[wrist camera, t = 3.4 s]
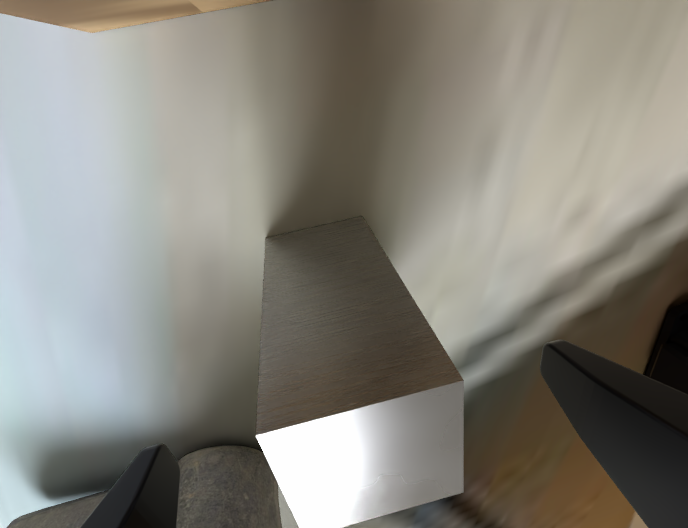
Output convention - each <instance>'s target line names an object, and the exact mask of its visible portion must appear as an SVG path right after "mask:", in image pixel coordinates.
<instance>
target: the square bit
mask: <svg viewBox="0 0 688 528" xmlns="http://www.w3.org/2000/svg"><path fill="white" fill-rule="evenodd" d="M463 388H464V380H463V379H462V377H461V376H460V374H459V372H458V371H457V369H456V367H455V366H454V364H453V363H452V361H451V359H450V358H449V356H448V354H447V353H446V351H445V350H444V348H443V346H442V345H441V343H440V341H439V340H438V338H437V337H436V335H435V333H434V332H433V330H432V328H431V327H430V325H429V324H428V322H427V320H426V319H425V317H424V315H423V314H422V312H421V311H420V309H419V307H418V306H417V304H416V302H415V301H414V299H413V298H412V296H411V294H410V293H409V291H408V289H407V288H406V286H405V285H404V283H403V281H402V280H401V278H400V276H399V275H398V273H397V272H396V270H395V268H394V267H393V265H392V264H391V262H390V260H389V259H388V257H387V255H386V254H385V252H384V251H383V249H382V247H381V246H380V244H379V242H378V241H377V239H376V238H375V236H374V234H373V233H372V231H371V229H370V228H369V226H368V225H367V223H366V221H365V220H364V218H363V216H360V217H355V218H351V219H347V220H342V221H338V222H334V223H329V224H325V225H320V226H316V227H312V228H307V229H303V230H298V231H294V232H290V233H285V234H281V235H276V236H272V237H268V238H266V239H265V259H264V279H263V299H262V320H261V340H260V360H259V380H258V400H257V420H256V437H257V439H258V442H259V444H260V446H261V448H262V450H263V452H264V454H265V456H266V458H267V461H268V463H269V465H270V467H271V469H272V471H273V473H274V475H275V477H276V479H277V482H278V484H279V486H280V488H281V490H282V492H283V494H284V496H285V498H286V501H287V503H288V505H289V507H290V509H291V511H292V513H293V515H294V517H295V519H296V522H297V524H298V526H299V528H342V527H345V526H349V525H352V524H356V523H359V522H362V521H366V520H369V519H373V518H376V517H380V516H383V515H387V514H390V513H394V512H397V511H401V510H404V509H407V508H411V507H414V506H418V505H421V504H425V503H428V502H432V501H435V500H439V499H442V498H446V497H449V496H452V495H456V494H459V493H463Z"/></svg>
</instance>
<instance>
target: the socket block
mask: <svg viewBox="0 0 688 528" xmlns="http://www.w3.org/2000/svg"><path fill="white" fill-rule="evenodd" d="M265 1H271V0H0V13H2V14H7V15H12V16H16V17H21V18H25V19H30V20H35V21H39V22H44V23H49V24H53V25H58V26H62V27H67V28H72V29H76V30H81V31H86V32H90V33H94V32H100V31H105V30H111V29H116V28H122V27H127V26H133V25H138V24H144V23H149V22H155V21H160V20H166V19H172V18H177V17H183V16H188V15H194V14H199V13H205V12H210V11H216V10H221V9H227V8H232V7H238V6H243V5H249V4H254V3H260V2H265Z"/></svg>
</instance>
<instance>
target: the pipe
mask: <svg viewBox="0 0 688 528" xmlns="http://www.w3.org/2000/svg"><path fill="white" fill-rule="evenodd" d="M178 464H179V467H180V485H179V499H178V512H177V525H176V528H282V524H281V517H280V509H279V500H278V482H277V479H276V477H275V475H274V473H273V471H272V469H271V467H270V465H269V463H268V461H267V458H266V456H265V454H264V453H262V452H261V451H259V450H257V449H254V448H250V447H245V446H216V447H210V448H204V449H200V450H197V451H194V452H192V453H190V454H187V455H185V456H184V457H183V458H181V459H180V460H179V461H178ZM108 492H109V490H106V491H103V492H100V493H96V494H93V495H89V496H86V497H82V498H79V499H75V500H72V501H68V502H65V503H61V504H58V505H55V506H51V507H48V508H44V509H41V510H38V511H35V512H32V513H29V514H26V515H23V516H20V517H19V518H17V519H15V520H14V521H12V522H11V523H10V524H9V526H8V527H7V528H80V527H81V526H82V524H83V523H84V522H85V521H86V519H87V518H88V517H89V515H90V514H91V513H92V512H93V510H94V509H95V508H96V507H97V505H98V504H99V503H100V502H101V500H102V499H103V498H104V497H105V495H106V494H107V493H108Z"/></svg>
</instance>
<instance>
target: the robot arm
mask: <svg viewBox="0 0 688 528" xmlns="http://www.w3.org/2000/svg"><path fill="white" fill-rule="evenodd" d="M540 371H541V374H542V376H543V378H544V380H545V382H546V383H547V385H548V386H549V388H550V390H551V391H552V393H553V394H554V396H555V398H556V399H557V401H558V403H559V404H560V406H561V407H562V409H563V411H564V412H565V414H566V416H567V417H568V419H569V420H570V422H571V424H572V425H573V427H574V428H575V430H576V431H577V433H578V435H579V436H580V438H581V439H582V440H583V442H584V443H585V444H586V446H587V447H588V449H589V450H590V451H591V453H592V454H593V455H594V457H595V458H596V459H597V460H598V462H599V463H600V464H601V466H602V467H603V468H604V470H605V471H606V472H607V474H608V475H609V476H610V478H611V479H612V480H613V482H614V483H615V484H616V486H617V487H618V488H619V490H620V491H621V492H622V494H623V495H624V496H625V498H626V499H627V500H628V502H629V503H630V504H631V506H632V507H633V508H634V509H635V511H636V512H637V513H638V515H639V516H640V517H641V519H642V520H643V521H644V523H645V524H646V525H647V527H648V528H688V303H685V304H681V305H678V306H676V307H674V308H673V309H672V310H671V311H670V312H669V313H668V315H667V318H666V321H665V323H664V326H663V329H662V331H661V334H660V337H659V340H658V342H657V345H656V348H655V350H654V353H653V356H652V359H651V361H650V364H649V367H648V369H647V372H646V375H642V374H640V373H638V372H635V371H633V370H631V369H629V368H626V367H624V366H622V365H620V364H617V363H615V362H613V361H611V360H608V359H606V358H604V357H601V356H599V355H597V354H595V353H592V352H590V351H588V350H586V349H583V348H581V347H579V346H577V345H574V344H572V343H570V342H567V341H565V340H556V341H552V342H548V343H546V344H545V345H544V346H543V351H542V357H541V364H540ZM179 485H180V467H179V464H178V462H177V461H176V459H175V458H174V456H173V455H172V453H171V452H170V451H169V449H168V448H167V446H166V445H164V444H156V445H153V446H149V447H146V448H144V449H143V450H142V451H141V452H140V453H139V454H138V455H137V456H136V458H135V459H134V460H133V461H132V463H131V464H130V465H129V466H128V468H127V469H126V470H125V471H124V473H123V474H122V475H121V476H120V478H119V479H118V480H117V482H116V483H115V484H114V485H113V487H112V488H111V489H110V490H109V492H108V493H107V494H106V495H105V497H104V498H103V499H102V500H101V502H100V503H99V504H98V505H97V507H96V508H95V509H94V510H93V512H92V513H91V514H90V515H89V517H88V518H87V519H86V521H85V522H84V523H83V524H82V526H81V527H80V528H176V525H177V512H178V499H179Z"/></svg>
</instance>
